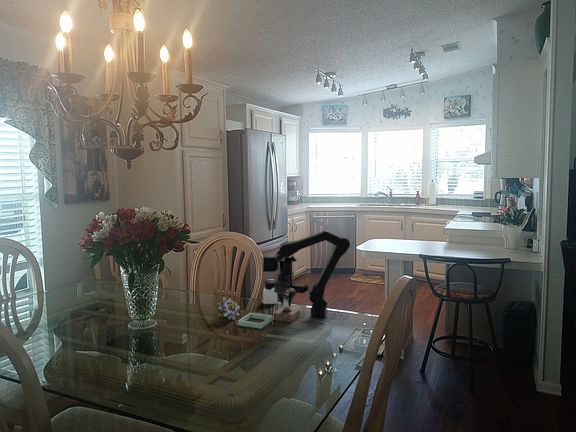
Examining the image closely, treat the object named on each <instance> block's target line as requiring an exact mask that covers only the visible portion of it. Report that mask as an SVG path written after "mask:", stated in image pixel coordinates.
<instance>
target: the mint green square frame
mask: <svg viewBox="0 0 576 432" xmlns="http://www.w3.org/2000/svg"><path fill="white" fill-rule="evenodd" d="M250 319H256V320H263V321H261V322H254V321H249V320H250ZM272 321H273V315H269V314H262V313H255V312H254V313H253V312H249V313H247V314H246V315H245V316H243V317H241V318H240V319H239V320H237V325H238V326H240V327H247V328H254V329H255V328H256V329H260V330H262V329H263V328H265V326H267V325H268V324H270V323H271V322H272Z"/></svg>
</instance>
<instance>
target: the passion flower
mask: <svg viewBox="0 0 576 432" xmlns="http://www.w3.org/2000/svg"><path fill="white" fill-rule="evenodd" d="M237 303H238V302H237V301H236V300H232V298H231V297H230V298H225V297H224V296H222V302H221V303H220V302H217V304H216V305H215V307H216V309H217V313H219V316H220V318H221V317H222V318H225V317H226V318H227V320H228V321H235V320H236V316H238V317H239V316H240V313H239V311H240V307H241V306H240V305H238V304H237Z"/></svg>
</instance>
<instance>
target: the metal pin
mask: <svg viewBox="0 0 576 432" xmlns="http://www.w3.org/2000/svg"><path fill="white" fill-rule="evenodd" d="M282 307H283V312H286V313H290V308H291V306H289V294H288V293H284V294H283V305H282Z"/></svg>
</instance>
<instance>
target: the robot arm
mask: <svg viewBox="0 0 576 432" xmlns="http://www.w3.org/2000/svg"><path fill="white" fill-rule="evenodd" d="M325 241H326V242H328V243H330V244H332V247H331V254H330V255H329V257H328V259H327V261H326V263H325V265H324V267H323V269H322V271H321V273H320V275H319V277H318V278H317V280H316V281H315V282H311V283H310V285H309V286H308V285H307V283H298V284H296V285H294V284H295V281H294V280H293V279H294V278H293V276H294V275H295V274H294V272H293V262H295V263H296V262H297V258H296V257H294V255H295V254H296V253H298V252H299V251H300V250H302V249H306V248H308V247H311V246H313V245H318V244H319V243H322V242H325ZM350 246H351V243H350V240H349V239H348V238H347V237H345V236H343V235H339V236H338V235H335V234H333V233H331V232H329V231H328V230H322V231H320V232H317V233H315V234H311V235H308V236H306V237H303V238H300V239H298V240H289V241H284V242H282V243H280V245H279V246H278V251H277V252H276V253H275V254H274V256H267V255H266V256H265V255H264V256H263V257H262V273H272V272H273V273H274V272H277V270H279V274H278V276H277V277H278V278H277V279H275V280H276V281H269V282H267V283H266V284H265V283H264V288H265V289H267V290H271V289H272V288H273V287H274V292H276V293H277V294H278V299H279V301H280V303H281V305H282V306H283V294H285V292H286V290H289V291H288V293H287V294H289V306H290V307H291V306H292V305H293V304H292V303H293V300H294V298H295V296H296V295H297V293H298V294H305V293H306V292H307V296H308V299H309V301H310V303H312V304H311V307H310V317H313V318H315V319H326V318H327V317H328V302H327V300H326V299H325V297H324V295H325V290H326V285H327V284H328V281H329V280H330V279H331V276H332V274H333V272H334V270H335V268H336V266H337V264H338V263H339V261H340V259H341V258H342V257H343V256H344V255H345V254H346V253H347V251H348V250H349V248H350Z"/></svg>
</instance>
